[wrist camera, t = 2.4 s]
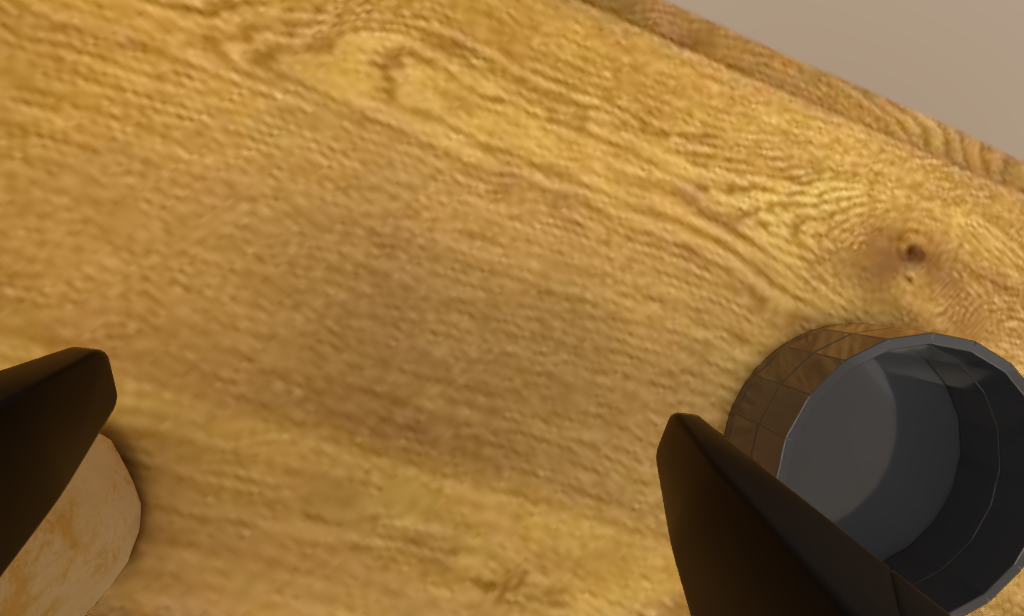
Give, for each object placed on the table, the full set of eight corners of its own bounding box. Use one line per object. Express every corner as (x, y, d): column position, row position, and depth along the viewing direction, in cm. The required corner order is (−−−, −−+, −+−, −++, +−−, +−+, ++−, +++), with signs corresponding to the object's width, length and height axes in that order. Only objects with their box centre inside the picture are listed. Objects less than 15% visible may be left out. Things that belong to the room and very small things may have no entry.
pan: (927, 587, 28) (1016, 647, 24) (697, 555, 27) (746, 612, 22) (984, 348, 27) (1086, 363, 23) (752, 301, 26) (814, 308, 21)
